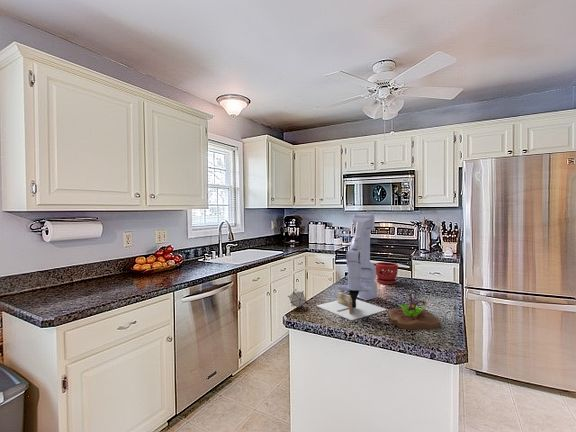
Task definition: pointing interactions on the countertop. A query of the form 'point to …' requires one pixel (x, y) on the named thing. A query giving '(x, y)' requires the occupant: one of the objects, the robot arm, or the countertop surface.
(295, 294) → the game die
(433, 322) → the plant
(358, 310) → the card
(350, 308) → the brown wooden board
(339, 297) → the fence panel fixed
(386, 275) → the plant pot
